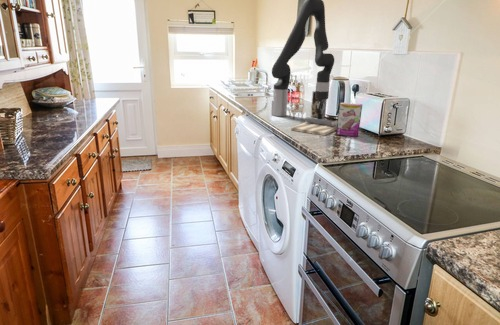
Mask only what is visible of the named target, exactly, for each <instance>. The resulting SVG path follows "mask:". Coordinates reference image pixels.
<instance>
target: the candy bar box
mask: <svg viewBox="0 0 500 325" xmlns="http://www.w3.org/2000/svg"><path fill="white" fill-rule="evenodd" d="M338 106H339V107H338V116H337V129H336V130H335V131H336V134H335V135H336V136H341V137H342V136H345V137H353V138H358V137H359V132H360V127H361V126H360V124H361V119H362V118H361V117H362V111H363V110H362V109H363V104H361V103H352V102H351V103H349V102H340V103H339V105H338Z"/></svg>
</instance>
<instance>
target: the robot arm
mask: <svg viewBox="0 0 500 325" xmlns="http://www.w3.org/2000/svg"><path fill="white" fill-rule="evenodd" d="M325 10H326V9H325V2H324V0H304V1H303V3H302V5H301V8H300V11H299V14H298V16H297V19H296V21H295V23H294V25H293V28H292V30H291V32H290V34H289V36H288V38H287V40H286V42H285V44H284V46H283V48H282V50H281V52H280V54H279V56H278V57H277V59H276V61H275V62H274V64H273V66H272V69H271V75H272V77H273V78H275V79H277V81H276V83H274V84H273V98H272V100H271V112H270V113H271V114H270V115H271V116H274V117H286V116H287V114H288V113H287V110H288V96H289V93H288V92H289V85H290V81H291V67H290V65H289V64H288V63H289V61H290V60H291V59H292V58H293V57H294V56H295V55H296V54H297V53H298V51H300V50H301V48H302V46H303V43H304V42H305V40H306V25H307V22H308V20H309V18H310V16H312V17H314V20H315V28H314V32H313V40H314V47H315V52H314V54H315V55H314V63H315V65H316V66H318V67H321V68H323V69H322V70H319V71H318V72H317V74H316V83H315V90H314V91H315V98H316V99H318V102H317V105H316V111H317V113H318V117H317V119H323V118H322V114H323V112H324V109H325V106H326V107H327V102H326V103H325V99H327V100H328V99H329V94H330V77H331V73H332V70H333V67H334V64H335V56H334V54H333V53H324V51H327V50H328V49H329V42H328V37H327V32H326V31H327V30H326V14H325V13H326V11H325Z"/></svg>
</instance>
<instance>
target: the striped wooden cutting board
mask: <svg viewBox="0 0 500 325" xmlns="http://www.w3.org/2000/svg"><path fill="white" fill-rule="evenodd" d="M290 130H291V132H292V131H293V132H298V131H300V132H299V133H304V132H306V134H311V133H312V134H311V135H317V134H318V136H326V135H328V134H330V133H332V132H334V131H337V126H332V125H325V124H318V123H311V122H305V121H304V122H303V123H300V124H297V125H295V126H292V127H290Z"/></svg>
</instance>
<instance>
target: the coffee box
mask: <svg viewBox="0 0 500 325" xmlns="http://www.w3.org/2000/svg"><path fill="white" fill-rule="evenodd" d="M315 91H316V90H314V91H312V92H311V93H312V95H311V104H310V113H309V114H310V118H318V113H317V111H316V105H317V102H318V99H316V98H315ZM327 100H328V99H325V103H326V104H327ZM326 110H327V105H326V106H325V109H324V112H323V114H322V119H325V118H326ZM324 117H325V118H324Z"/></svg>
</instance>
